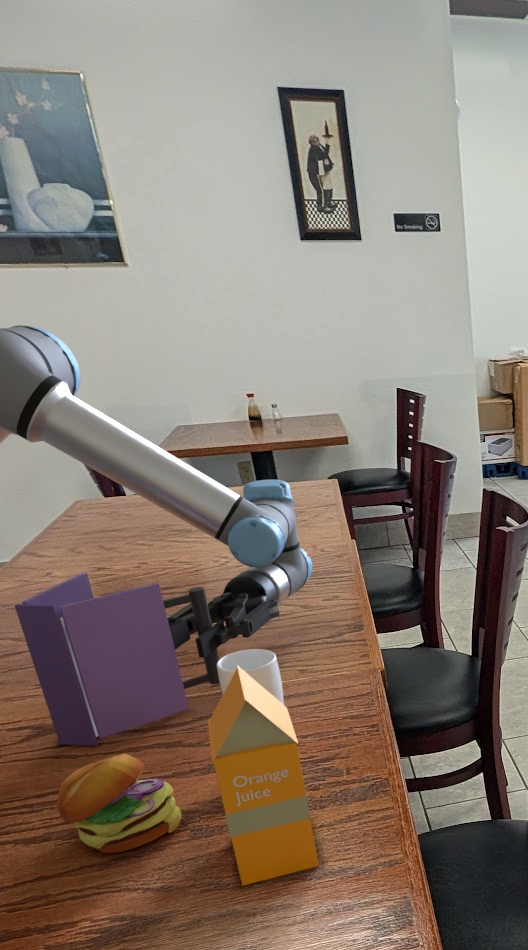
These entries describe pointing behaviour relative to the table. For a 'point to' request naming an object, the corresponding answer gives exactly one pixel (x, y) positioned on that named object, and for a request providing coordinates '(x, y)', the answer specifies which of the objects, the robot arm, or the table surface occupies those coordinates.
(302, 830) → the orange juice
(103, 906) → the table surface
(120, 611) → the folder cover
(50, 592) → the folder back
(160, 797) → the cheeseburger
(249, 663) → the drinking glass
